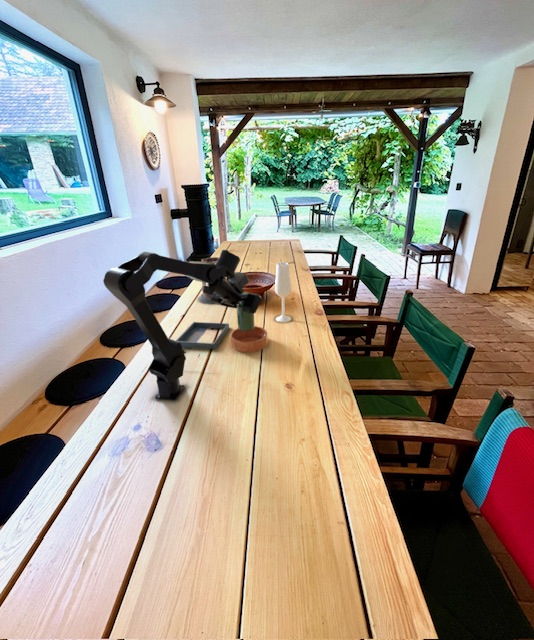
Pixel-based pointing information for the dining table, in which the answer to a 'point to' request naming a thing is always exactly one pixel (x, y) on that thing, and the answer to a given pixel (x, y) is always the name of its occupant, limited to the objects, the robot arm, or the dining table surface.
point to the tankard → (205, 297)
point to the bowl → (249, 339)
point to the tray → (195, 333)
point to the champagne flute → (283, 287)
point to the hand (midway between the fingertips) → (247, 309)
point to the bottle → (244, 317)
